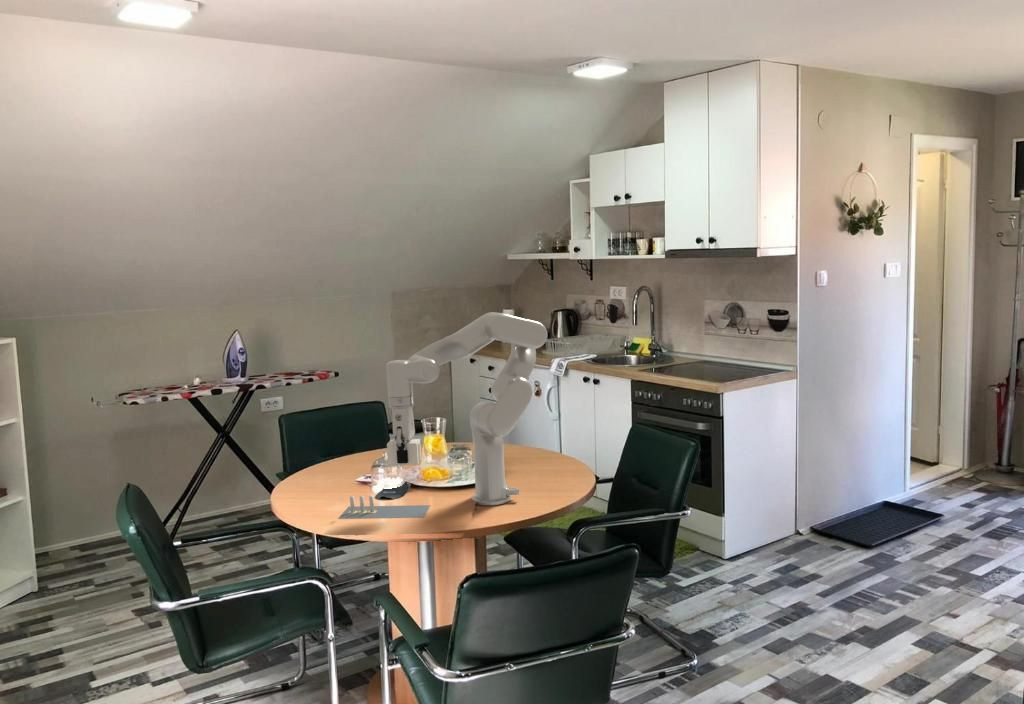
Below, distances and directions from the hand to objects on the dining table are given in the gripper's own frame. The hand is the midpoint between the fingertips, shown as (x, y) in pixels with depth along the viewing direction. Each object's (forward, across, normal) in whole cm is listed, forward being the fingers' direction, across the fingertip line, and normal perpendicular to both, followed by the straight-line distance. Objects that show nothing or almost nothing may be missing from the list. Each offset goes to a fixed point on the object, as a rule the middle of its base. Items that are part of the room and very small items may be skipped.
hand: (404, 459), depth 254 cm
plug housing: (+1, 0, 0) cm, 1 cm away
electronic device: (+18, +20, +9) cm, 28 cm away
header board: (+17, 0, +7) cm, 19 cm away
